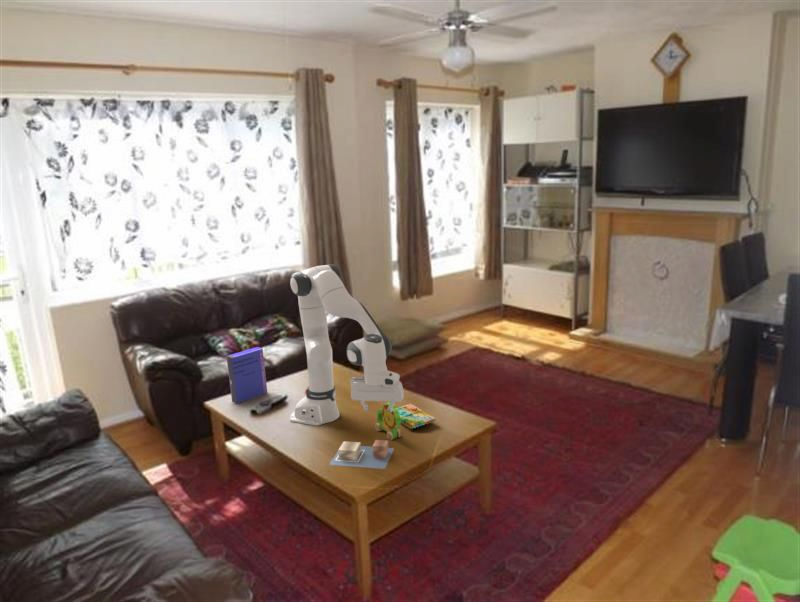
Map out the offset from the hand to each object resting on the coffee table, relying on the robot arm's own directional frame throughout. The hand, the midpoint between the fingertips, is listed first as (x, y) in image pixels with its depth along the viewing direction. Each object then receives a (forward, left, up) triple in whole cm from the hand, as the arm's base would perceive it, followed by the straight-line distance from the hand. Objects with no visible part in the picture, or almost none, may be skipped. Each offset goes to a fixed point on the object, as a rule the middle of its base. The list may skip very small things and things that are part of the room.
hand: (378, 410), depth 219 cm
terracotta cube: (0, 0, -19) cm, 19 cm away
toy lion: (-1, +18, -20) cm, 27 cm away
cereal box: (-81, +50, -20) cm, 97 cm away
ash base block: (-12, -2, -19) cm, 22 cm away
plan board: (-7, -2, -19) cm, 21 cm away
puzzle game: (+6, +32, -20) cm, 38 cm away
